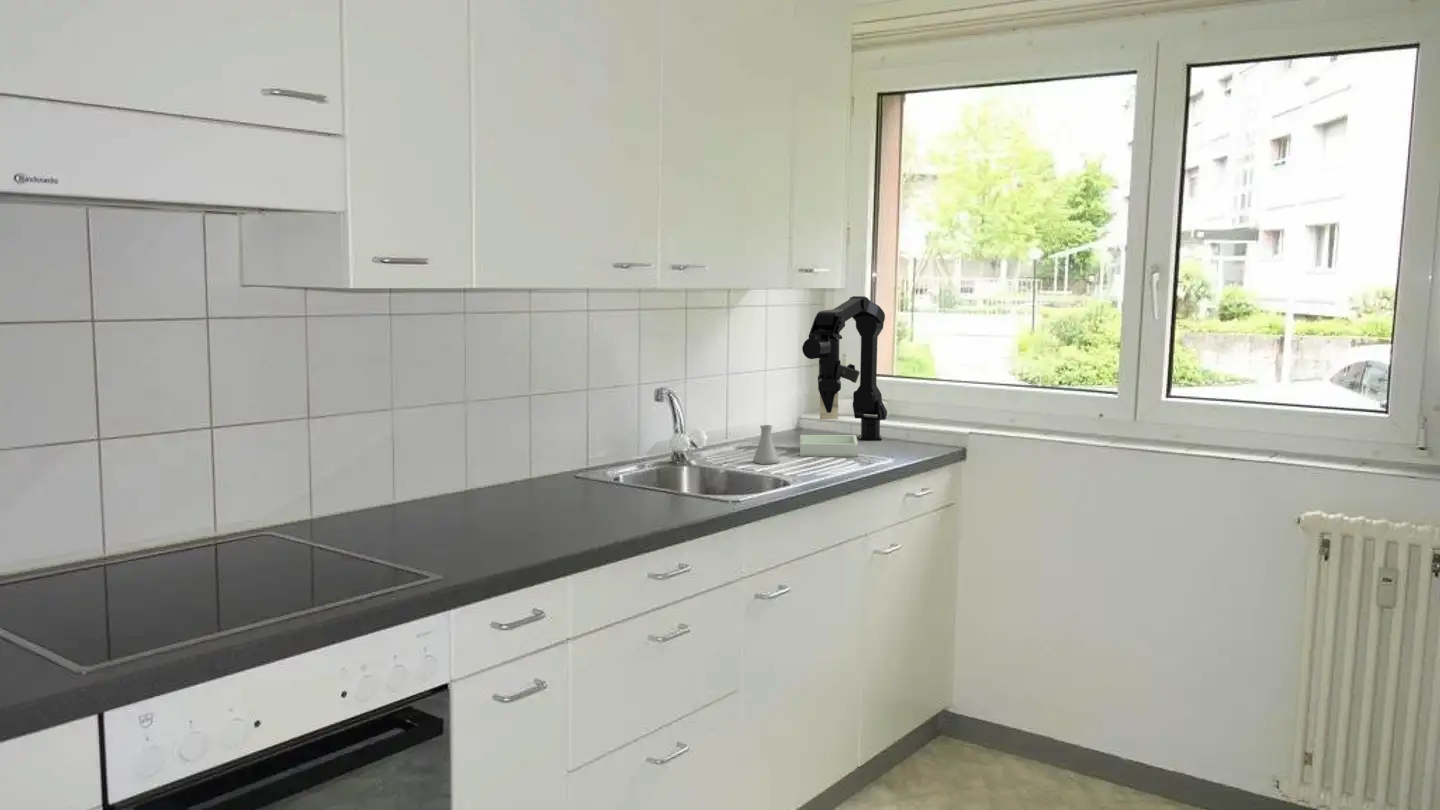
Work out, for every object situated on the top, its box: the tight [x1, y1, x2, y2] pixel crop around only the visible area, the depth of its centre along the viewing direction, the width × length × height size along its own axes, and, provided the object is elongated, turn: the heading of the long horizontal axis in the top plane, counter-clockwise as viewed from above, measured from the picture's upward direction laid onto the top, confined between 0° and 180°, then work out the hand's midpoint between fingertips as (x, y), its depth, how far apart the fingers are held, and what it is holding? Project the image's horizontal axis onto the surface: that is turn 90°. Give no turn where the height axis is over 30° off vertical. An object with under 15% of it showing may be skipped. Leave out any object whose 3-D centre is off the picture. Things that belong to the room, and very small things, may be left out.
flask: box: [752, 424, 781, 465], centre depth 303 cm, size 7×7×10 cm
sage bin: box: [799, 434, 859, 458], centre depth 319 cm, size 16×16×4 cm
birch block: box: [819, 391, 839, 420], centre depth 317 cm, size 5×5×7 cm
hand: (828, 411), depth 317 cm, fingers closed on birch block, 5 cm apart
